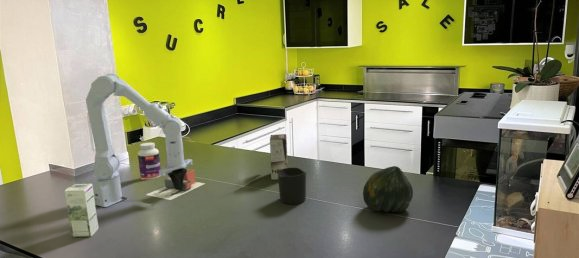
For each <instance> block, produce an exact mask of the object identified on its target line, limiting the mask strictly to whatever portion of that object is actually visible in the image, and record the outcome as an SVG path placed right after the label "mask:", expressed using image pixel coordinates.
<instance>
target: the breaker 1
mask: <svg viewBox="0 0 579 258" xmlns="http://www.w3.org/2000/svg"><path fill="white" fill-rule="evenodd" d="M164 187H167V188H172V189H174V188H175V187H174V184H173V182H172V180H171V178H170V177H169V176H168V178H165V179H164Z"/></svg>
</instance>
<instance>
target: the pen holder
mask: <svg viewBox="0 0 579 258" xmlns="http://www.w3.org/2000/svg"><path fill="white" fill-rule="evenodd" d="M277 180H278V189H279V190H278V191H279V198H280V199H279V200H280V201H281V202H282V203H283V204H286V205H298V204H302V203H304V202H305V201H306V197H307V172H305V171H304V170H302V169H301V168H299V167H288V168H284V169H281V170H279V171H278V179H277Z"/></svg>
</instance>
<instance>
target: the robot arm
mask: <svg viewBox="0 0 579 258" xmlns="http://www.w3.org/2000/svg"><path fill="white" fill-rule="evenodd" d="M111 95H113V96H115V97H123V98H126V99H127V100H128V101H130V102H131V103H133V104H134V105H135V106H137V107H138V108H139V109H141V110H142V111H143V112H144V117H146V118H147V120H149V121H150V122H151V123H154V124H155V125H156V126H157V127H158V128H160V129H162V133H163V134H164V135H165V137H164V138H165V141H164V142H165V149H166V159H167V162H166V163H167V164H166V166H164V167H162V168H161V169H160V170H159V175H160V177H165V176H166V175H167V176H168V178H169V177H170V178H171V180H172V182H173V184H174V187H175V189H176V190H181V189H182V185H183V180H184V177H185V174H186V172H187V169H188V168H186V167H188V166H192V165H194V164H193V158H192V159H191V158H187V159H185V156H184V155H185V154H184V144H183V138H182V136H183V135H182V132H181V130H182V127H183V125H182V122H181V120H180V119H179V118H178V117H176V116H174V114H172V113H171V114H170V113H169V112H168V111H166V110H165V109H164V108H163V107H164V106H163V105H162V104H158V103H150V102H149V101H148V100H147V99H146V98H145V97H144V96H142V95H141V94H140V93H139V92H138V91H137V90H135V88H134V87H132V86H131V85H129V84H128V83H127V82H126V81H125V80H124V79H123V78H120V77H119V76H118V75H116V74H114V73H107V74H105V75H101V76H98V77H97V78H96V79H95V80H93V81H92V82H91V85H90V89H89V91H88V93H87V96H86V98H85V102H86V108H87V109H86V110H87V113H88V118H89V123H90V130H91V133H92V138H93V139H92V140H93V144H94V149H95V156H94V166H93V172H94V173H93V174H94V175H95V176H96V179H94V181H92V182H90V184H92V186H93V193H94V200H95V206H99V207H103V208H107V207H110V206H113V205H115V204H117V203H119V202H122V201H125V200H127V199H128V197H125V196H123V192H122V184H121V178H120V172H119V170H118V169H119V168H120V159H119V158H118V157H117V155H116V152H115V150H114V148H113V146H112V142H111V136H110V131H109V126H108V120H107V115H106V111H105V105H104V103H105V102H106V100H108V98H109V97H110V96H111Z"/></svg>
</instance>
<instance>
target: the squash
mask: <svg viewBox="0 0 579 258" xmlns="http://www.w3.org/2000/svg"><path fill="white" fill-rule="evenodd" d="M413 192H414V189H413V186H412V183H411V182H410V181H409V179H408V177H407V176H406V174H405V173H404V172H403V170H402V169H401V168H400V167H399V166H398V165H397V166H396V165H395V166H389V167H385V168H383V169H380V170H378V171H376V172H374V173H372V174H371V175H370V177H368V179H367V181H366V182H365V184H364V186H363V192H362V196H363V201H364V204H365V205H366V206H367V207H368V208H370V209H372V210H374V211H375V212H382V211H383V212H386V213H388V212H391V213H394V212H397V213H401V212H405V211H406V210H407V209H408V208H409V206H410V203H411V202H412V199H413V194H414V193H413Z"/></svg>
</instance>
